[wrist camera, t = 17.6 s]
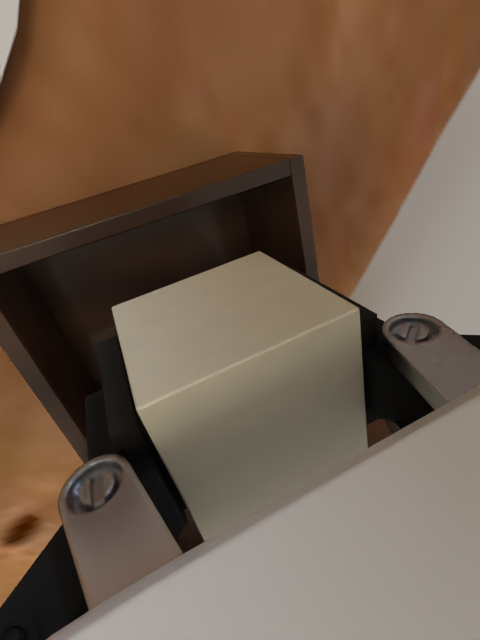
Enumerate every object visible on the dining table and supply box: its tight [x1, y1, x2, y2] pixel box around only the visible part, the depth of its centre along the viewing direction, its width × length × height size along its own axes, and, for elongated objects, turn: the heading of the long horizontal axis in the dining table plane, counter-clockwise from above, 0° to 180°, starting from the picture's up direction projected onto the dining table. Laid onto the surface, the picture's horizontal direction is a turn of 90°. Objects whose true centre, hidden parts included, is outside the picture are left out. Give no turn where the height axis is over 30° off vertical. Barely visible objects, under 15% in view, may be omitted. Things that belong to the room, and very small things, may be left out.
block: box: [112, 251, 368, 541], centre depth 9 cm, size 4×4×4 cm
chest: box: [0, 152, 319, 463], centre depth 23 cm, size 13×17×9 cm
